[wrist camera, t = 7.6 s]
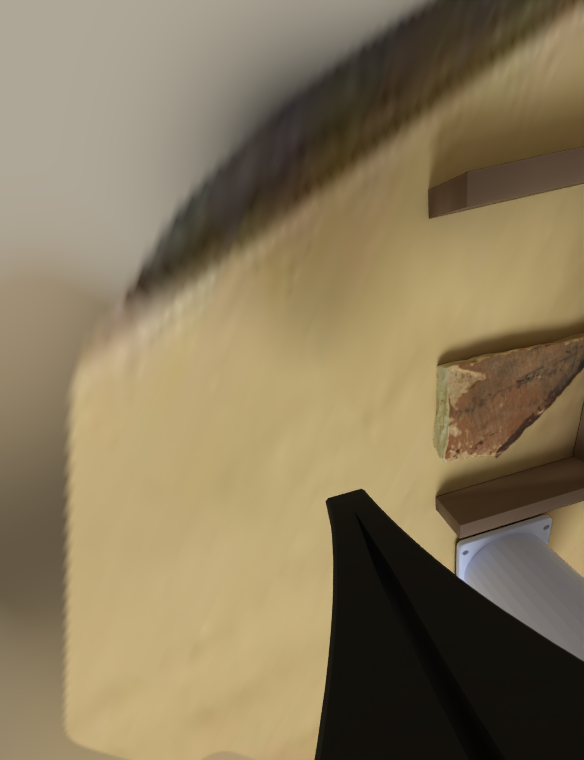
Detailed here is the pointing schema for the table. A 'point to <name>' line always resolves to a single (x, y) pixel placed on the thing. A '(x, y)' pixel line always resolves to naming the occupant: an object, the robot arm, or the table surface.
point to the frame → (580, 472)
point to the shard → (500, 396)
